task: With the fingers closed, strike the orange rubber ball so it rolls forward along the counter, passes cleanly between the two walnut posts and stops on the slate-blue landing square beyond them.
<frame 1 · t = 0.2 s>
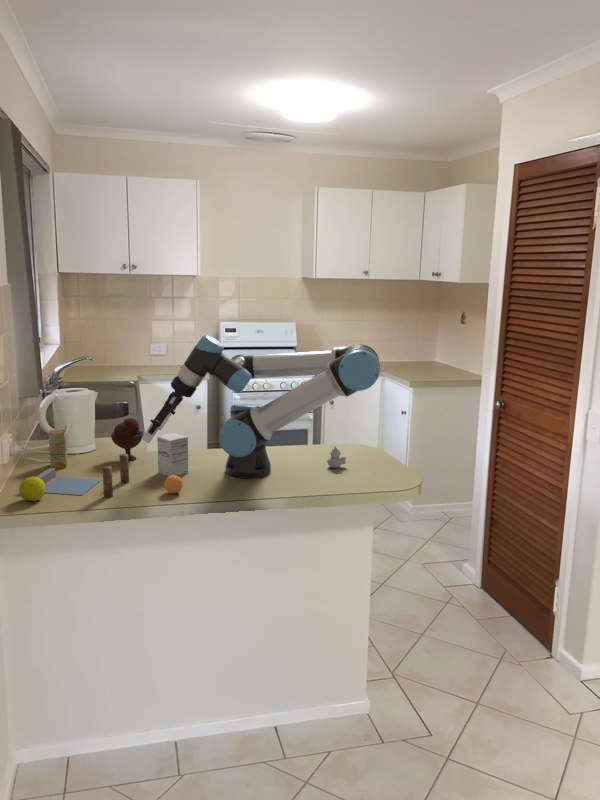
hand: (151, 434, 206), 15 cm above the counter, tool tilted 35°, fingers open, 13 cm apart
grey figurine: (336, 467, 225), on the counter
blue-grey rod: (40, 484, 203), on the counter
ball: (173, 484, 197), on the counter
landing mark: (70, 486, 202), on the counter
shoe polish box: (59, 466, 221), on the counter
supplement box: (173, 473, 216), on the counter
left post: (108, 496, 194), on the counter
right post: (124, 482, 206), on the counter
tennis ball: (33, 500, 190), on the counter
ice cream bowl: (128, 460, 229), on the counter
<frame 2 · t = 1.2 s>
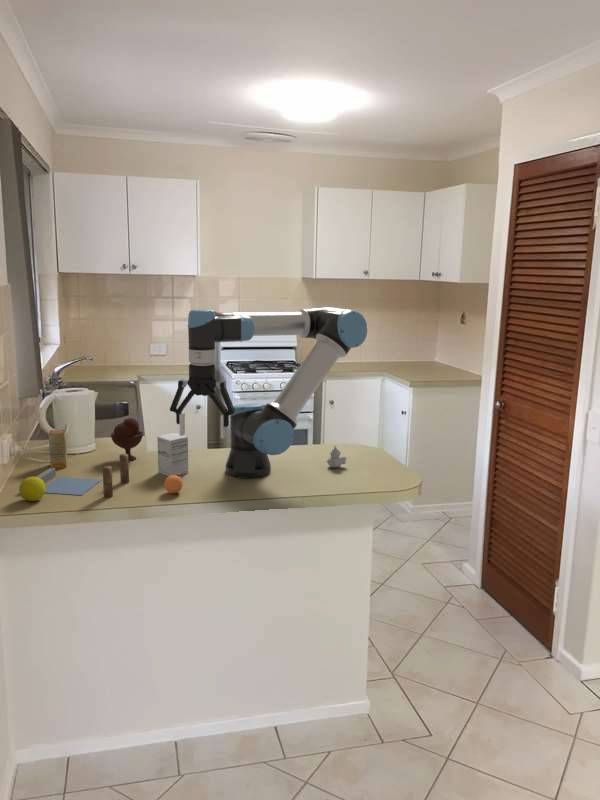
hand: (202, 436, 193), 18 cm above the counter, tool pointing down, fingers open, 12 cm apart
nothing on the counter moved.
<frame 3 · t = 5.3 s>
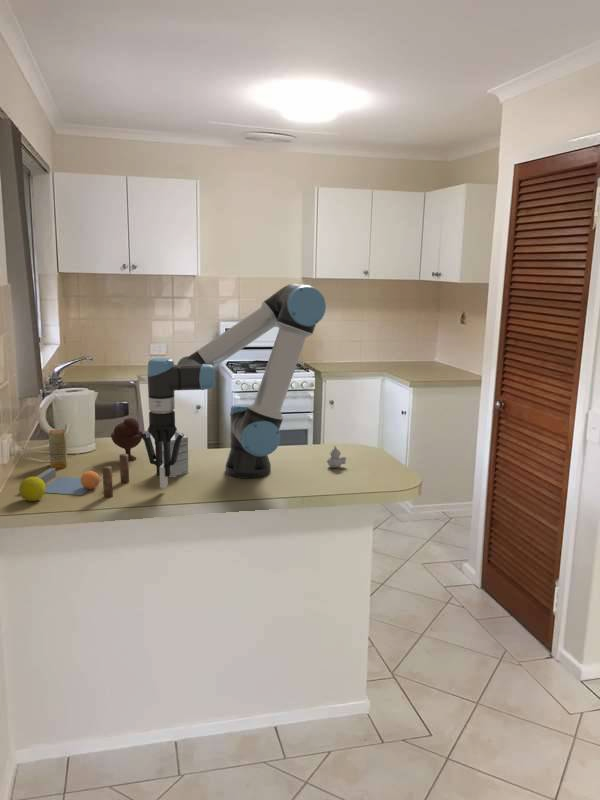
hand: (163, 486, 198), 2 cm above the counter, tool pointing down, fingers closed
ball: (90, 480, 200), on the counter
everything else where it was.
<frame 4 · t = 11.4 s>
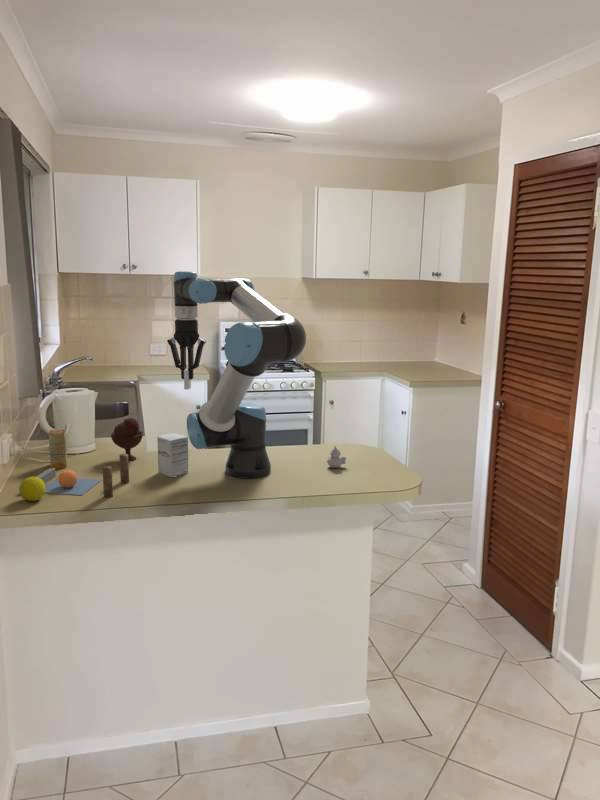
hand: (187, 388, 221), 26 cm above the counter, tool pointing down, fingers closed
ball: (67, 478, 200), on the counter
everything else where it was.
at the end: ball 1.2 cm from the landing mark (horizontally); ball never touched left post; ball never touched right post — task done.
